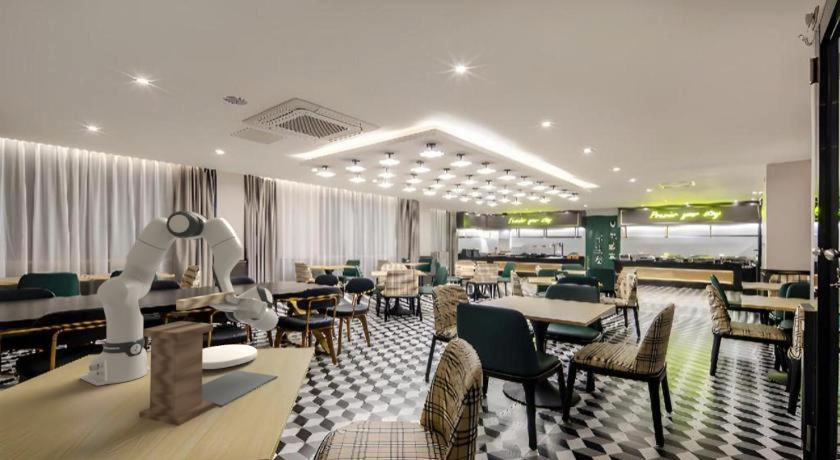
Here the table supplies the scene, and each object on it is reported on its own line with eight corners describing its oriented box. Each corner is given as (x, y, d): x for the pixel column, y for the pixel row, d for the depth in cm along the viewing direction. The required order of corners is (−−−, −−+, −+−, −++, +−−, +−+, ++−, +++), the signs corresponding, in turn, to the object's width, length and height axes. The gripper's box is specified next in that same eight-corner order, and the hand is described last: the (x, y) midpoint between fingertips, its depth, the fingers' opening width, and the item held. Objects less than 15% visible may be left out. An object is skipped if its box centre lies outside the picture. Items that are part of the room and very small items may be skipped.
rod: (183, 310, 115) (183, 300, 115) (176, 309, 116) (176, 300, 116) (234, 300, 134) (234, 291, 134) (227, 299, 135) (228, 291, 135)
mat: (174, 398, 125) (174, 396, 125) (235, 371, 149) (235, 370, 149) (222, 406, 118) (222, 404, 118) (277, 377, 143) (277, 376, 143)
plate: (219, 340, 177) (270, 344, 172) (218, 355, 176) (269, 359, 171) (169, 352, 150) (227, 357, 144) (167, 369, 149) (226, 374, 144)
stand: (139, 416, 112) (140, 329, 112) (176, 400, 123) (177, 320, 124) (179, 425, 107) (180, 333, 107) (214, 407, 118) (215, 324, 119)
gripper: (228, 300, 146) (201, 286, 135) (271, 303, 140) (247, 289, 128) (221, 316, 143) (193, 303, 132) (265, 320, 137) (240, 306, 125)
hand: (220, 296), depth 130 cm, fingers closed on rod, 3 cm apart
